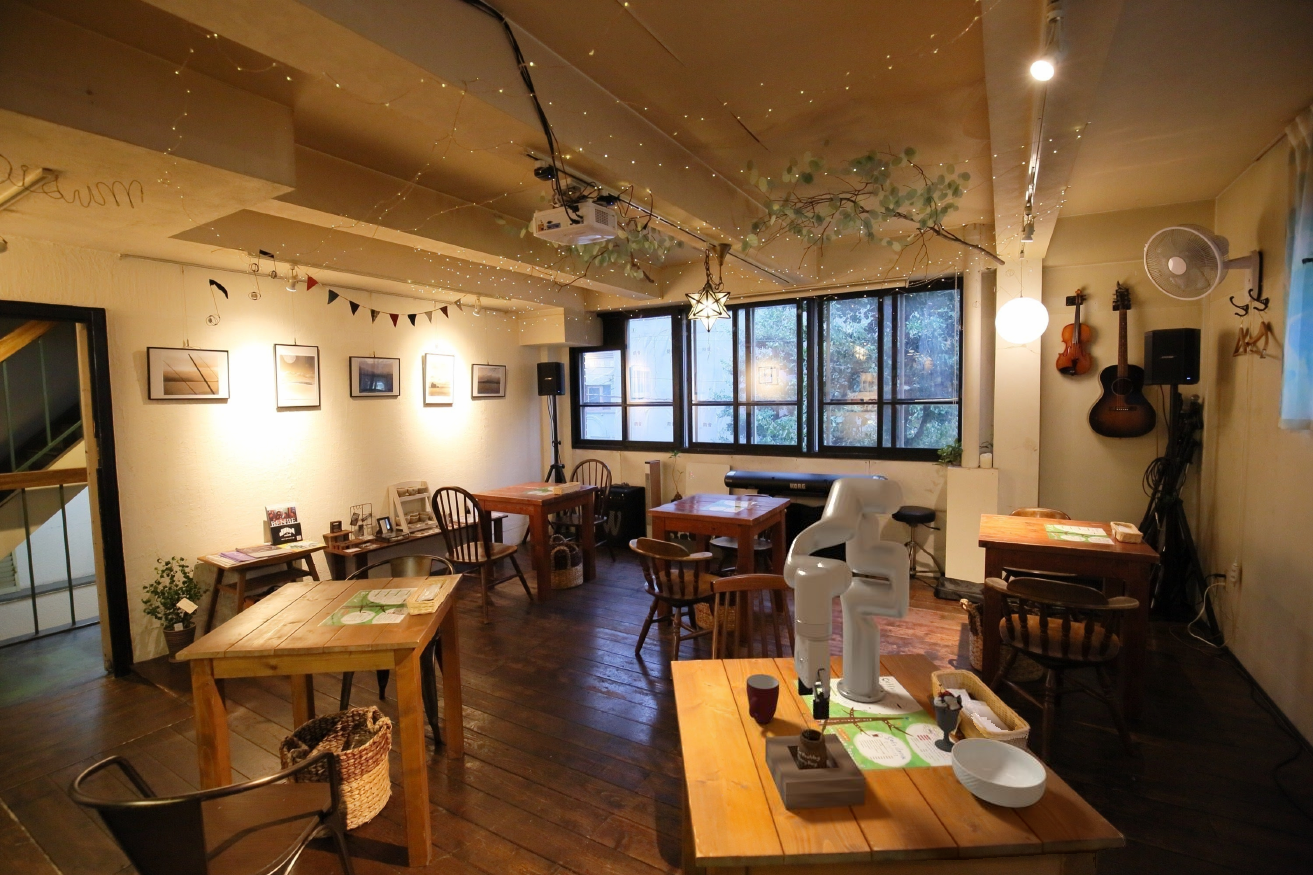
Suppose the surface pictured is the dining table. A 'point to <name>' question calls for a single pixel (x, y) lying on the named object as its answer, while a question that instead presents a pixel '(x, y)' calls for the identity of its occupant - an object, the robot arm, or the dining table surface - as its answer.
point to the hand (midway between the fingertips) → (813, 706)
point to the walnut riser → (814, 775)
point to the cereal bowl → (998, 772)
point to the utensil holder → (812, 748)
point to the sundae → (946, 716)
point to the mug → (762, 697)
